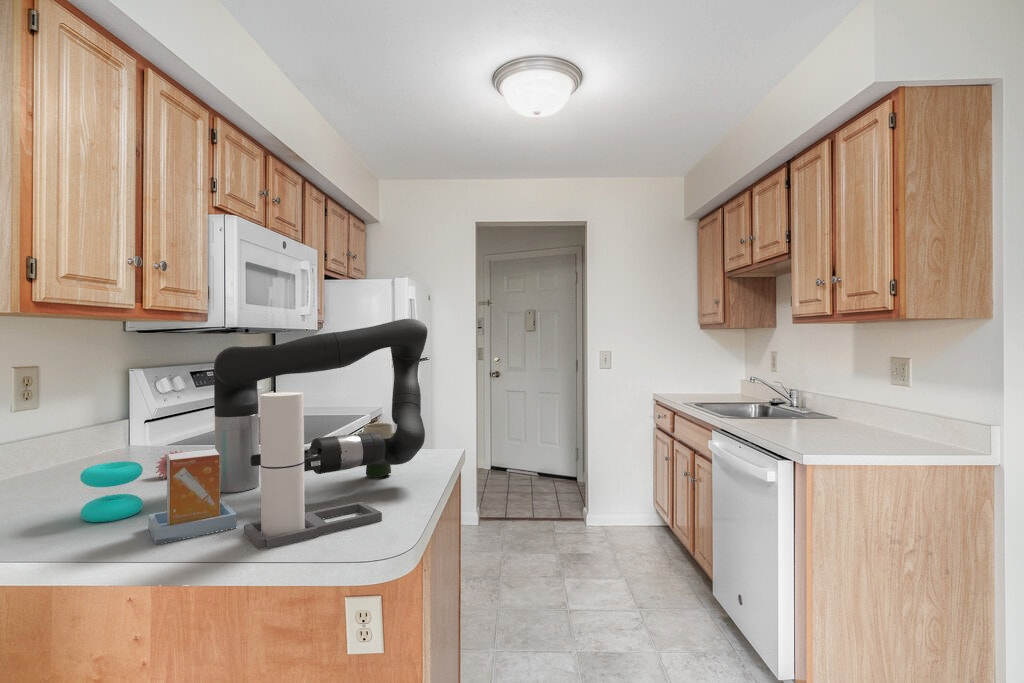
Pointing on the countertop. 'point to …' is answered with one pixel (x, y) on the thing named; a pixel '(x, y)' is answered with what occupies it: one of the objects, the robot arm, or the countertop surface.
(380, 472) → the character mug
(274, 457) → the cylindrical container
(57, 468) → the countertop surface
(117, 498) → the donuts
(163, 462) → the flower
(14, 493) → the countertop surface
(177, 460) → the small box
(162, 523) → the tray
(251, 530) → the holder
